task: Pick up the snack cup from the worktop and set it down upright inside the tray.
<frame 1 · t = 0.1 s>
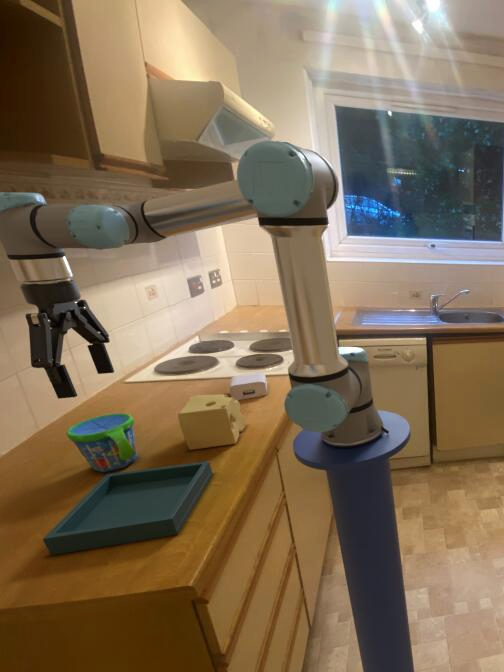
hand: (88, 384, 90), 19 cm above the countertop, tool pointing down, fingers open, 13 cm apart
charger: (251, 389, 136), on the countertop
tray: (142, 509, 82), on the countertop
snack cup: (116, 464, 97), on the countertop
cheese: (218, 438, 107), on the countertop
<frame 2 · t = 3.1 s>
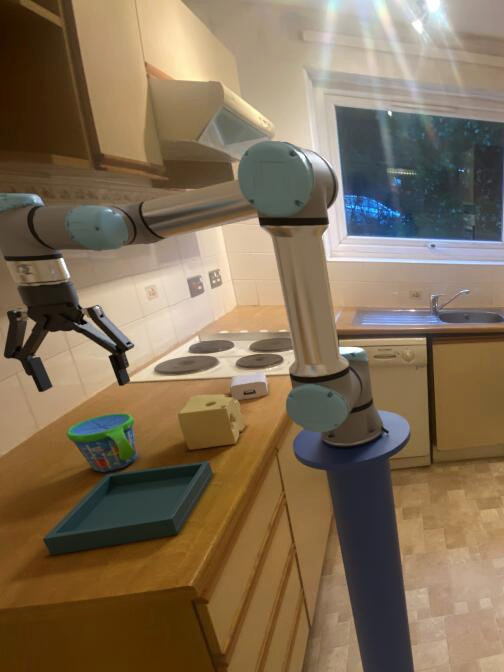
hand: (86, 386, 90), 19 cm above the countertop, tool pointing down, fingers open, 13 cm apart
nothing on the countertop moved.
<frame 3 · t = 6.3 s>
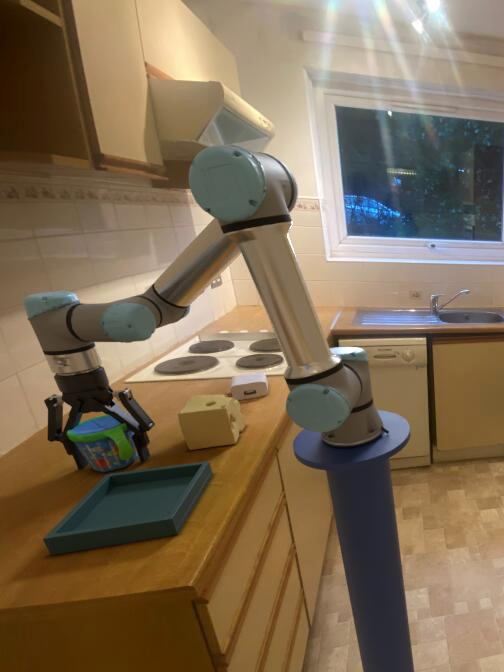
hand: (115, 462, 96), 0 cm above the countertop, tool pointing down, fingers closed on snack cup, 11 cm apart
snack cup: (116, 464, 97), on the countertop, touching gripper
everything else where it was.
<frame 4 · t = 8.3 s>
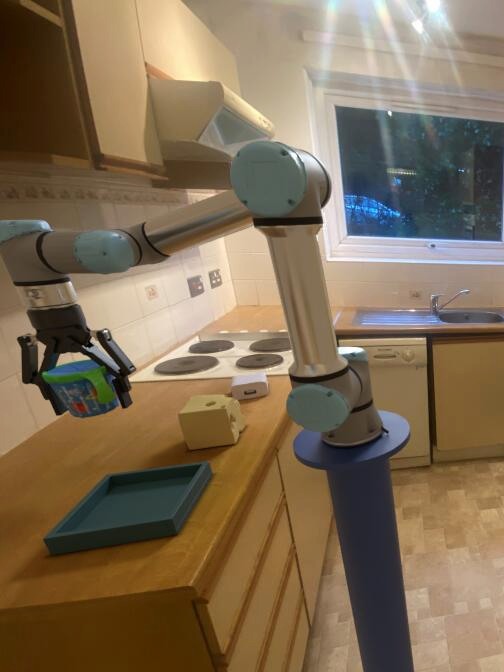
hand: (95, 409, 91), 14 cm above the countertop, tool pointing down, fingers closed on snack cup, 11 cm apart
snack cup: (97, 412, 92), point 13 cm above the countertop, touching gripper
everything else where it was.
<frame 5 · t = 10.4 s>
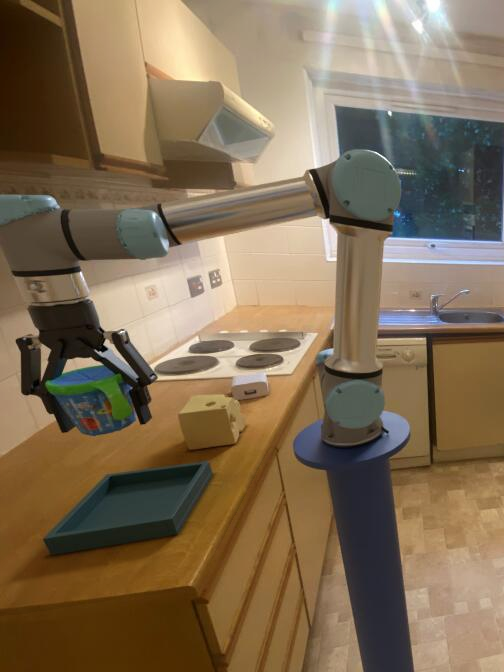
hand: (108, 425, 77), 18 cm above the countertop, tool pointing down, fingers closed on snack cup, 11 cm apart
snack cup: (110, 428, 77), point 17 cm above the countertop, touching gripper
everything else where it was.
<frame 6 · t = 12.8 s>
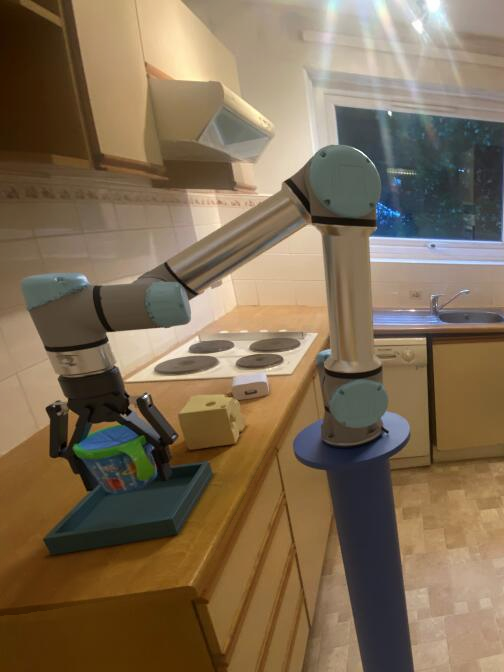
hand: (131, 482, 80), 6 cm above the countertop, tool pointing down, fingers closed on snack cup, 11 cm apart
snack cup: (132, 485, 80), point 6 cm above the countertop, touching gripper
everything else where it was.
when the fingers open (1 cm above the countertop, at t = 14.7 s): snack cup stays where it is, resting on tray.
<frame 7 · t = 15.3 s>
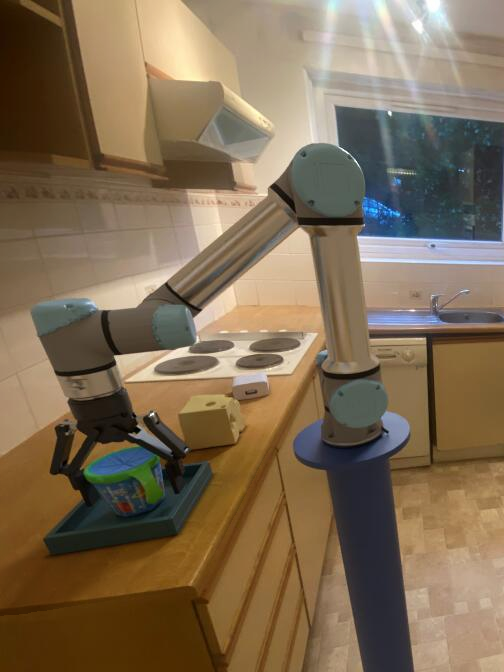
hand: (137, 496, 81), 3 cm above the countertop, tool pointing down, fingers open, 13 cm apart
snack cup: (141, 506, 82), point 1 cm above the countertop, touching tray
everything else where it was.
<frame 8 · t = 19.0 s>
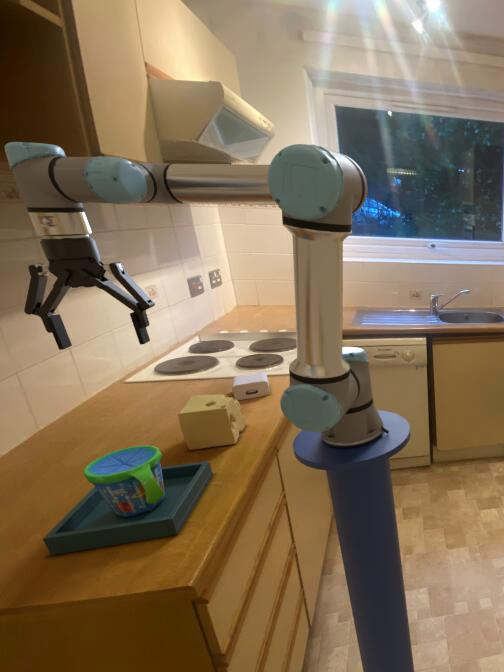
hand: (106, 345, 89), 27 cm above the countertop, tool pointing down, fingers open, 13 cm apart
nothing on the countertop moved.
at the end: snack cup 0.0 cm off-centre on the tray, point 0.8 cm above the tray's base; snack cup tilted 0°; the gripper is holding nothing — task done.
